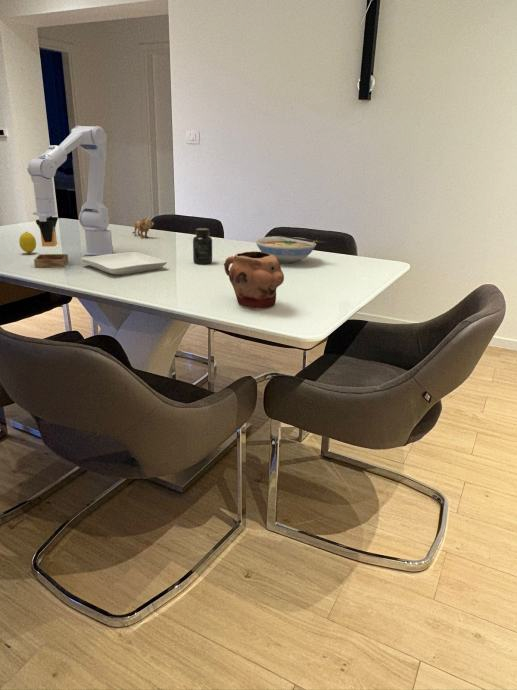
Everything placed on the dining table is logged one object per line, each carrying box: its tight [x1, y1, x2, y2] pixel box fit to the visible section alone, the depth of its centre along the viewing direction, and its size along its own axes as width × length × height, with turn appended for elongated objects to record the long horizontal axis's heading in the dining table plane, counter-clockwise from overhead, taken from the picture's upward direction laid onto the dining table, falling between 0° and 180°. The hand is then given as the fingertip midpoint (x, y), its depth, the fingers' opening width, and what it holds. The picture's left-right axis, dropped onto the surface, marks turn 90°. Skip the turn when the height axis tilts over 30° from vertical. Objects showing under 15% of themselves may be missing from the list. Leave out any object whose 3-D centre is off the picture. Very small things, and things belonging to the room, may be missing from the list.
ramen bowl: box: [254, 234, 327, 264], centre depth 191 cm, size 25×23×8 cm
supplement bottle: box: [192, 227, 213, 265], centre depth 182 cm, size 7×7×12 cm
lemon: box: [18, 231, 37, 254], centre depth 186 cm, size 6×6×8 cm
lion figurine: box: [132, 217, 155, 239], centre depth 228 cm, size 15×5×9 cm, turn 46°
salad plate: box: [80, 251, 168, 276], centre depth 172 cm, size 21×21×3 cm
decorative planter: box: [223, 250, 285, 310], centre depth 136 cm, size 20×12×14 cm, turn 55°
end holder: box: [33, 253, 69, 268], centre depth 173 cm, size 9×9×2 cm
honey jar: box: [39, 226, 58, 248], centre depth 170 cm, size 4×4×6 cm
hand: (49, 240), depth 170 cm, fingers closed on honey jar, 4 cm apart
